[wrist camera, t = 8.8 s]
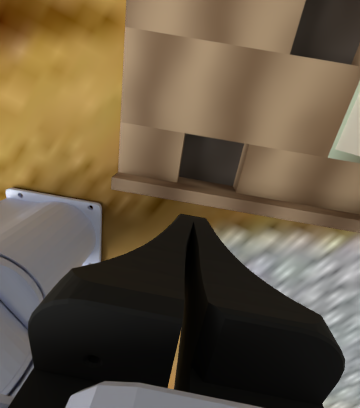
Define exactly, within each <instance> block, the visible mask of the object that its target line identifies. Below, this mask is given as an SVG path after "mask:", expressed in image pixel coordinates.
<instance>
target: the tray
mask: <svg viewBox="0 0 360 408" xmlns="http://www.w3.org/2000/svg"><path fill="white" fill-rule="evenodd" d="M359 92H360V0H126V20H125V41H124V62H123V82H122V103H121V124H120V144H119V165H118V173H117V174H115V175H114V176H113V177H112V183H111V189H113V190H119V191H124V192H130V193H136V194H141V195H147V196H153V197H158V198H164V199H170V200H176V201H181V202H187V203H193V204H198V205H204V206H210V207H215V208H221V209H227V210H233V211H238V212H244V213H250V214H255V215H261V216H267V217H272V218H278V219H284V220H290V221H295V222H301V223H307V224H312V225H318V226H324V227H329V228H335V229H341V230H347V231H352V232H358V233H360V156H357V155H354V154H350V153H346V152H343V151H339V150H336V149H335V148H336V146H337V144H338V141H339V139H340V137H341V134H342V132H343V130H344V127H345V125H346V123H347V120H348V118H349V116H350V113H351V111H352V108H353V106H354V104H355V101H356V99H357V97H358V94H359Z"/></svg>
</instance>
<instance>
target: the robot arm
mask: <svg viewBox="0 0 360 408" xmlns="http://www.w3.org/2000/svg"><path fill="white" fill-rule="evenodd" d="M21 194H22V195H23V196H22V195H21ZM6 197H7V198H6V199H4V200H2V201H0V408H324V407H323V404H322V403H323V402H324V400H325V399H326V398H327V396H328V395H329V394H330V392H331V391H332V390H333V388H334V387H335V386H336V384H337V383H338V381H339V380H340V378H341V376H342V374H343V372H344V368H345V358H344V356H343V353H342V351H341V349H340V347H339V345H338V344H337V342H336V340H335V338H334V337H333V335H332V333H331V331H330V330H329V328H328V326H327V324H326V323H325V321H324V319H323V318H322V316H321V315H319V314H317V313H315V312H314V311H312V310H310V309H308V308H306V307H305V306H303V305H301V304H299V303H297V302H296V301H294V300H292V299H290V298H289V297H287V296H285V295H284V294H282V293H281V292H279V291H278V290H276V289H274V288H273V287H271V286H270V285H269V284H267V283H266V282H264V281H263V280H262V279H260V278H259V277H258V276H256V275H255V274H254V273H253V272H251V271H250V270H249V269H248V268H247V267H245V266H244V265H243V264H242V263H241V262H240V261H239V260H238V259H237V258H236V257H235V256H234V255H233V254H232V253H231V252H230V251H229V250H228V249H227V247H226V246H225V245H224V244H223V243H222V241H221V240H220V239H219V237H218V236H217V235H216V233H215V232H214V230H213V229H212V227H211V225H210V224H209V222H208V221H207V219H206V218H201V217H195V216H190V215H184V214H180V215H178V217H177V218H176V219H175V221H174V222H173V223H172V224H171V225H170V226H169V227H168V228H167V229H165V230H164V231H163V232H162V233H161V234H159V235H158V236H157V237H155V238H154V239H153V240H151V241H150V242H148V243H147V244H145V245H143V246H141V247H139V248H137V249H135V250H133V251H131V252H128V253H126V254H124V255H121V256H118V257H115V258H112V259H109V260H106V261H102V262H101V233H102V206H101V205H100V204H99V203H96V202H91V201H85V200H79V199H74V198H68V197H62V196H57V195H51V194H45V193H40V192H34V191H28V190H23V189H17V188H9V189H7V190H6ZM90 205H91V206H92V207H93V209H92V208H90ZM90 263H91V264H90ZM181 327H182V328H181ZM180 331H181V337H180V345H179V353H178V362H177V370H176V378H175V386H174V390H173V389H168V388H167V387H168V383H169V379H170V374H171V370H172V366H173V361H174V357H175V353H176V348H177V344H178V340H179V335H180Z"/></svg>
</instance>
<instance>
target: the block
mask: <svg viewBox="0 0 360 408" xmlns="http://www.w3.org/2000/svg"><path fill="white" fill-rule="evenodd" d="M335 149H336V150H339V151H343V152H346V153H350V154H354V155H357V156H360V92H359V94H358V97H357V99H356V101H355V104H354V106H353V108H352V111H351V113H350V116H349V118H348V120H347V123H346V125H345V127H344V130H343V132H342V134H341V137H340V139H339V141H338V144H337V146H336V148H335Z"/></svg>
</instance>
